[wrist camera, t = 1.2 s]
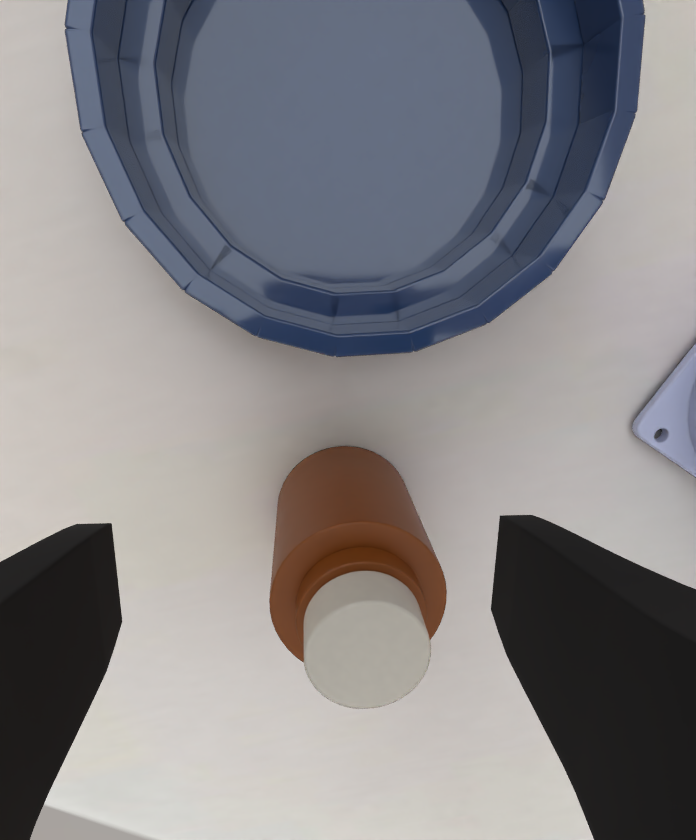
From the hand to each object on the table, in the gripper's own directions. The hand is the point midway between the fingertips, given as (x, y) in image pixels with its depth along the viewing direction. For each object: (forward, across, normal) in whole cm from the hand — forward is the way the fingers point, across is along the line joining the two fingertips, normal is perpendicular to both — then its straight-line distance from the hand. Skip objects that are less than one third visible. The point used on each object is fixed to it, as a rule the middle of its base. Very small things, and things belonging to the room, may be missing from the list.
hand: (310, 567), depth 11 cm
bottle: (+10, -1, +4) cm, 11 cm away
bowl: (+10, -1, -10) cm, 14 cm away
